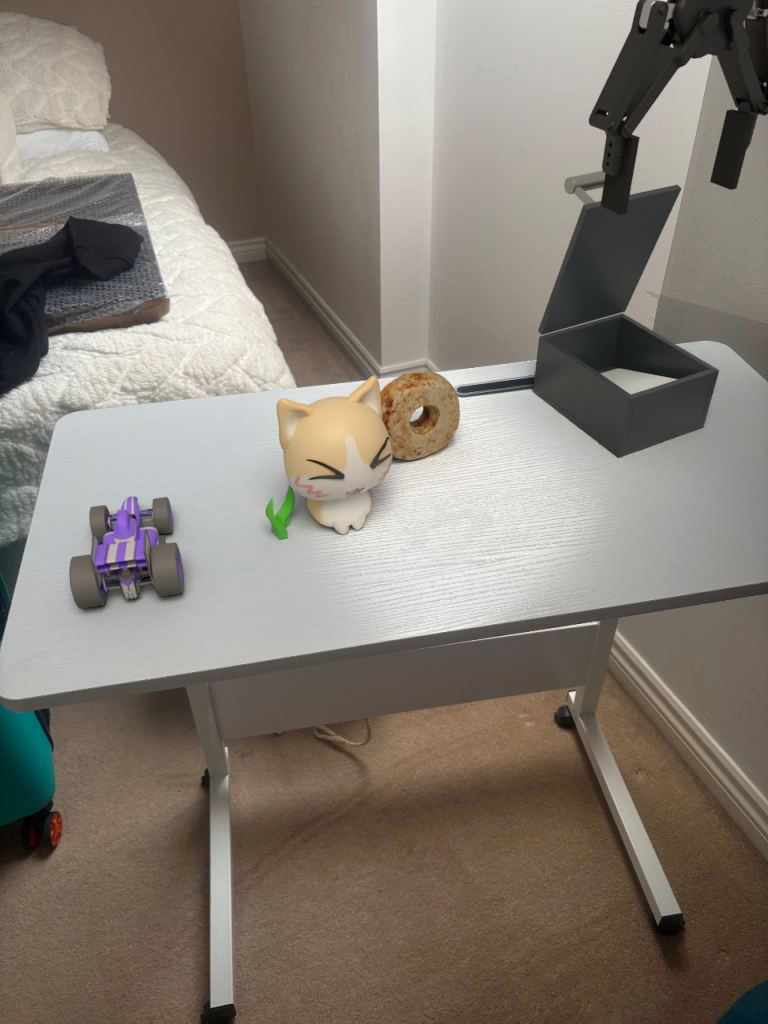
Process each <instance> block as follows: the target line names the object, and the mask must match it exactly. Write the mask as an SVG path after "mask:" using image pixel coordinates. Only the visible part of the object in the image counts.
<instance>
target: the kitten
mask: <svg viewBox="0 0 768 1024" xmlns="http://www.w3.org/2000/svg"><path fill="white" fill-rule="evenodd" d="M379 381H380V380H379V378H378V377H377V375H371V376H370V377H369V378H367V379H366V380H365V381H364V382H363V383H362V384H361V385H359V386H358V387H357V388H356V389H354V390H353V391H351V393H350V394H349V395H348V396H329V397H323V398H321V399H318V400H316V401H314V402H311V403H310V404H305V403H301V402H297V401H293V400H291V399H288V398H285V397H281V398H279V399H278V400H277V401H276V406H275V407H276V408H275V409H276V416H277V423H278V440H279V441H278V442H279V444H280V447H281V449H282V451H283V454H282V455H283V466H284V471H285V475H286V478H287V481H288V483H289V485H288V486H287V491H286V493H285V497H284V500H283V503H282V505H281V506H280V508H279V509H278V511H277V512H276V514H275V511H274V496H272V497H271V499H270V500H269V501H268V504H267V505H266V508H265V510H264V511H265V516H266V518H268V520H269V522H270V526H271V532H272V533H273V534H274V535H275V536H276V537H277V538H278V540H283V539H288V537H289V536H288V530H287V526H289V525H291V521H290V517H291V516H292V513H293V511H294V510H295V504H296V497H295V492H296V493H297V494H298V495H300V496H301V497H303V498H305V499H306V506H307V510H308V511H309V513H310V514H311V516H312V517H313V518H314V520H315V521H316V522H317V523H319V524H321V525H322V526H325V527H329V528H334V530H335V531H336V532H337V533H339V534H341V535H346V534H347V533H348V532H349V529H350V526H351V527H352V528H353V529H354V530H356V531H358V530H359V531H360V530H361V529H362V528H363V527H364V524H365V522H366V518H367V516H368V514H369V513H370V512H371V509H372V497H371V494H370V492H369V490H371V489H372V488H374V487H376V486H377V485H378V484H380V483H381V482H383V480H384V479H385V478H386V477H387V475H388V474H389V473H390V470H391V467H392V463H393V456H392V448H391V443H390V437H389V435H388V432H387V429H386V427H385V425H384V423H383V421H382V406H381V395H380V392H381V387H380V382H379ZM294 491H295V492H294Z"/></svg>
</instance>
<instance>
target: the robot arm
mask: <svg viewBox="0 0 768 1024" xmlns="http://www.w3.org/2000/svg"><path fill="white" fill-rule="evenodd" d="M708 55H711V56H716V57H717V60H718V63H719V66H720V68H721V72H722V75H723V77H724V79H725V82H726V85H727V87H728V90H729V93H730V95H731V98H732V101H733V104H734V106H735V108H736V109H733V108H732V109H731V108H730V109H726V112H725V117H724V120H723V125H722V129H721V132H720V137H719V142H718V146H717V150H716V154H715V158H714V163H713V168H712V171H711V176H710V179H709V180H710V181H709V183H711V184H714V185H717V186H720V187H722V188H724V189H727V190H730V191H733V190H736V189H737V188H738V184H739V181H740V176H741V174H742V173H741V172H742V168H743V165H744V162H745V158H746V153H747V149H749V147H750V145H751V143H752V139H753V135H754V131H755V128H756V124H757V119H758V116H759V115H761V116H763V117H764V116H767V115H768V0H666V1H664V0H638V1H637V4H636V6H635V10H634V15H633V18H632V22H631V28H630V31H629V33H628V34H627V36H626V39H625V41H624V43H623V45H622V47H621V50H620V51H619V53H618V56H617V58H616V60H615V62H614V64H613V66H612V68H611V70H610V72H609V75H608V77H607V79H606V81H605V83H604V85H603V87H602V89H601V91H600V94H599V96H598V97H597V99H596V102H595V104H594V106H593V109H592V110H591V113H590V115H589V118H588V124H589V126H590V127H593V128H596V129H598V130H601V131H602V132H603V131H604V133H605V144H604V150H603V157H602V162H601V169H602V170H601V171H603V172H605V180H604V186H603V188H602V194H601V200H600V201H601V205H600V206H602V207H604V208H606V209H608V210H610V211H612V212H615V213H617V214H619V215H622V214H626V213H627V207H628V201H629V196H630V194H631V190H632V184H633V178H634V173H635V167H636V162H637V161H636V160H637V156H638V151H639V149H638V148H639V143H640V138H641V137H640V136H637V135H635V134H633V133H634V132H635V131H636V130H637V128H638V126H639V125H640V123H641V122H642V121H643V119H644V118H645V116H646V115H647V114H648V113H649V111H650V109H651V108H652V107H653V105H654V103H655V102H656V101H657V100H658V99H659V97H660V96H661V94H662V92H663V91H664V90H665V88H666V87H667V86H668V84H669V83H670V81H671V80H672V78H673V77H674V75H676V73H677V71H678V70H679V69H680V68H683V67H685V66H686V65H687V64H688V63H689V62H690V60H691V59H692V60H693V59H695V60H696V59H701V58H703V57H706V56H708Z"/></svg>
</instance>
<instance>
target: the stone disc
mask: <svg viewBox="0 0 768 1024" xmlns="http://www.w3.org/2000/svg"><path fill="white" fill-rule="evenodd" d="M380 395H381V406H382V421H383V423H384V425H385V427H386V429H387V432H388V435H389V437H390V443H391V448H392V458H395V459H399V460H403V461H414V460H419V459H422V458H426V457H427V456H430V455H433V454H434V453H437V452H438V451H440V450H441V449H443V448H444V447H446V445H448V443H449V442H450V441H451V440H452V439H453V437H454V436H455V433H456V432H457V430H458V428H459V425H460V419H461V418H460V417H461V409H460V407H461V405H460V400H459V395H458V393H457V390H456V389H455V387H454V386H453V385H452V383H451V382H450V381H449V380H448V379H447V378H446V377H445V376H443V375H442V374H439V373H437V372H435V371H429V370H412V371H408V372H406V373H403V374H401V375H399V376H398V377H396V378H394V379H393V380H391V381H390V382H388V383H387V384H386V385H385V386H384V387H383V388H382V389H381V390H380ZM421 408H422V412H421V414H420V415H418V418H416V419H414V420H412V421H411V418H412V417H413V414H414V413H415V412H416V411H417V410H419V409H421Z"/></svg>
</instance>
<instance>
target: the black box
mask: <svg viewBox="0 0 768 1024" xmlns="http://www.w3.org/2000/svg"><path fill="white" fill-rule="evenodd" d="M618 368H620V369H625V370H630V371H636V372H641V373H646V374H652V375H657V376H662V377H668V378H673V379H677V380H674V381H671V382H668V383H665V384H662V385H659V386H656V387H653V388H650V389H647V390H644V391H641V392H638V393H635V394H632V395H631V394H630V393H628V392H627V391H625V390H624V389H622V388H621V387H619V386H618V385H616V384H615V383H613V382H612V381H610V380H609V379H608V378H606V377H605V376H603V375H602V374H600V373H603V372H607V371H610V370H614V369H618ZM719 373H720V369H718V368H717V367H715V366H713V365H711V364H710V363H708V362H706V361H705V360H703V359H702V358H699V357H698V356H696V355H695V354H693V353H691V352H690V351H688V350H686V349H684V348H683V347H681V346H679V345H677V344H676V343H674V342H672V341H671V340H669V339H667V338H666V337H664V336H663V335H661V334H659V333H658V332H656V331H654V330H652V329H650V328H649V327H647V326H645V324H642V323H640V322H638V321H637V320H635V319H634V318H631V317H630V316H628V315H626V314H625V313H624V312H622V313H618V314H614V315H611V316H607V317H604V318H600V319H597V320H593V321H589V322H586V323H582V324H579V325H575V326H572V327H568V328H564V329H561V330H557V331H554V332H550V333H547V334H543V335H540V336H538V344H537V353H536V361H535V368H534V378H533V384H532V385H533V386H532V393H534V394H535V395H536V396H537V397H539V398H540V399H542V401H544V402H545V403H546V404H548V405H549V406H550V407H552V408H553V409H554V410H555V411H557V412H558V413H560V414H561V415H562V416H563V417H565V418H566V419H567V420H569V422H571V423H573V424H574V425H575V426H576V427H578V428H579V429H580V430H582V431H583V432H584V433H585V434H587V435H588V436H589V437H591V438H592V439H593V440H594V441H596V442H597V443H598V444H600V446H602V447H603V448H605V449H606V450H608V452H610V453H611V454H613V455H614V457H617V458H619V459H620V458H623V457H624V456H628V455H631V454H633V453H636V452H639V451H642V450H644V449H647V448H649V447H653V446H656V445H658V444H660V443H664V442H666V441H670V440H672V439H675V438H678V437H681V436H683V435H686V434H689V433H691V432H694V431H697V430H701V429H703V428H704V427H705V424H706V420H707V416H708V413H709V409H710V406H711V402H712V398H713V395H714V391H715V388H716V384H717V381H718V377H719Z"/></svg>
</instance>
